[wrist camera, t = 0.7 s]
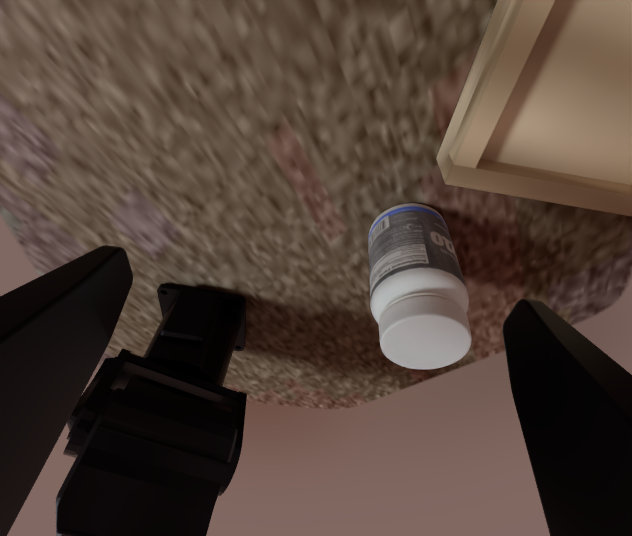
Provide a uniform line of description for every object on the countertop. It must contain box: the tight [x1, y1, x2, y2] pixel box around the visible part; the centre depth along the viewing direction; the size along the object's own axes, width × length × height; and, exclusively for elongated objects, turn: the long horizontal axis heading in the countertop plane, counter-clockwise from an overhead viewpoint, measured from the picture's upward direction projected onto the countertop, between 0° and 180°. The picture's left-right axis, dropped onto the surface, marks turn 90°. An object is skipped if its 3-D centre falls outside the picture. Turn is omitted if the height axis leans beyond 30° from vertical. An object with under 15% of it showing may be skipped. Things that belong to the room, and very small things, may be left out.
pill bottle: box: [369, 203, 472, 369], centre depth 20 cm, size 5×5×8 cm
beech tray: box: [436, 0, 632, 216], centre depth 15 cm, size 10×10×3 cm
